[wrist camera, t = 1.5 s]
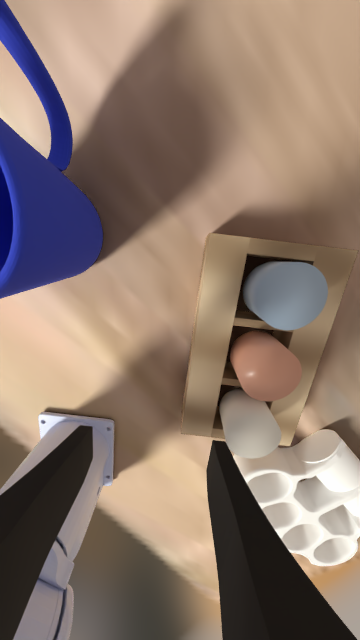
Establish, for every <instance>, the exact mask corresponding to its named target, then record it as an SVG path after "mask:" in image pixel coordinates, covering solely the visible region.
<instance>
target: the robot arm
mask: <svg viewBox="0 0 360 640" xmlns="http://www.w3.org/2000/svg"><path fill="white" fill-rule="evenodd" d="M38 419H39V428H40V437H41V440H40V441H39V442H38V444H37V445H36V446H35V447H34V449H33V450H32V451H31V452H30V453H29V455H28V456H27V457H26V458H25V460H24V461H23V462H22V464H21V465H20V466H19V467H18V468H17V470H16V471H15V472H14V473H13V475H12V476H11V477H10V478H9V480H8V481H7V482H6V483H5V485H4V486H3V487H2V488H1V489H0V640H69V636H70V632H71V627H72V619H73V602H74V600H73V599H74V598H73V590H72V587H71V586H70V585H69V584H67V583H68V581H69V578H70V575H71V572H72V570H73V567H74V563H73V562H72V561H73V560H74V558H75V556H76V555H77V553H78V551H79V549H80V546H81V544H82V541H83V538H84V535H85V533H86V530H87V528H88V525H89V522H90V519H91V517H92V514H93V511H94V509H95V506H96V503H97V500H98V498H99V495H100V492H101V490H102V487H103V485H104V486H110V485H112V483H113V465H114V421H113V420H111V419H103V418H94V417H86V416H77V415H68V414H59V413H51V412H41V413H40V415H39V416H38ZM108 427H109V428H108ZM207 492H208V503H209V510H210V518H211V525H212V533H213V540H214V547H215V555H216V562H217V571H218V580H219V593H220V606H221V621H222V636H223V640H357V639H356V637H355V636H354V635H353V634H352V632H351V631H350V630H349V629H348V628H347V626H346V625H345V624H344V623H343V622H342V620H341V619H340V618H339V616H338V615H337V614H336V613H335V612H334V610H333V609H332V608H331V606H330V605H329V604H328V602H327V601H326V600H325V599H324V597H323V596H322V595H321V594H320V592H319V591H318V589H317V588H316V587H315V585H314V584H313V583H312V582H311V580H310V579H309V578H308V576H307V575H306V574H305V572H304V571H303V570H302V568H301V567H300V566H299V564H298V563H297V561H296V560H295V559H294V557H293V556H292V554H291V553H290V552H289V550H288V549H287V547H286V546H285V544H284V543H283V541H282V540H281V538H280V537H279V535H278V534H277V532H276V531H275V529H274V528H273V526H272V525H271V523H270V522H269V520H268V519H267V517H266V515H265V514H264V512H263V510H262V509H261V507H260V506H259V504H258V502H257V500H256V499H255V497H254V495H253V494H252V492H251V490H250V488H249V486H248V485H247V483H246V481H245V479H244V477H243V476H242V474H241V472H240V470H239V468H238V466H237V464H236V462H235V460H234V458H233V456H232V454H231V452H230V450H229V448H228V445H227V443H226V442H224V441H215V440H213V441H212V446H211V451H210V456H209V461H208V466H207Z"/></svg>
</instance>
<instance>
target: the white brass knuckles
mask: <svg viewBox="0 0 360 640" xmlns="http://www.w3.org/2000/svg"><path fill="white" fill-rule="evenodd" d="M233 458H234V460H235V462H236V464H237V466H238V468H239V470H240V472H241V474H242V476H243V477H244V479H245V481H246V483H247V485H248V486H249V488H250V490H251V492H252V494H253V495H254V497H255V499H256V500H257V502H258V504H259V506H260V507H261V509H262V510H263V512H264V514H265V515H266V517H267V519H268V520H269V522H270V523H271V525H272V526H273V528H274V529H275V531H276V532H277V534H278V535H279V537H280V538H281V540H282V541H283V543H284V544H285V546H286V547H287V549H288V550H289V552H290V553H297V554H301V555H303V556H305V557H307V558H308V559H309V560H310V562H311V564H314V565H318V566H333V565H337V564H341V563H343V562H345V561H347V560H349V559H350V558H352V557H353V556H354V555H355V553H356V552H357V549H358V542H357V539H358V538H359V536H360V460H359V459H358V458H357V457H356V455H355V454H354V453H353V452H352V451H351V450H350V448H349V447H348V446H347V445H346V444H345V442H344V441H343V440H342V439H341V438H340V437H339V435H338V434H337V433H336V432H335V431H333V430H329V429H324V430H318V431H316V432H315V433H313V434H311V435H309V436H308V437H306V438H304V439H303V440H301V441H300V443H298V444H296V445H294V446H293V447H289V448H279V447H277V448H276V449H275V450H274V451H273V452H271V453H270V454H268V455H266V456H263V457H260V458H243V457H240V456H238V455H236V454H235V455H234V456H233ZM305 478H308V479H306V480H304V481H302V482H298V481H300V480H301V479H305Z"/></svg>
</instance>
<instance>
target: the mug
mask: <svg viewBox="0 0 360 640" xmlns="http://www.w3.org/2000/svg"><path fill="white" fill-rule="evenodd" d="M0 40H1V42H2V43H3V44H4V46H5V47H6V48H7V50H8V51H9V53H10V54H11V55H12V57H13V58H14V59H15V61H16V62H17V64H18V65H19V67H20V68H21V70H22V71H23V72H24V74H25V75H26V77H27V78H28V80H29V82H30V83H31V85H32V86H33V88H34V90H35V91H36V93H37V95H38V97H39V98H40V100H41V102H42V105H43V107H44V109H45V111H46V114H47V117H48V120H49V124H50V130H51V150H50V154H49V157H48V159H46V158H45V157H44V156H42V155H41V154H40V153H39V152H38V151H37V150H35V149H34V148H33V147H32V146H31V145H30V144H28V143H27V142H26V141H25V140H24V139H23V138H21V137H20V136H19V135H18V134H17V133H16V132H15V131H14V130H13V129H12V128H11V127H10V126H9V125H7V124H6V123H5V122H4V121H3V120H2V119H1V118H0V299H1V298H4V297H7V296H10V295H14V294H17V293H20V292H24V291H27V290H30V289H34V288H37V287H40V286H43V285H47V284H50V283H53V282H57V281H60V280H63V279H66V278H70V277H73V276H76V275H78V274H81V273H82V272H84V271H86V270H87V269H88V268H89V267H91V266H92V265H93V263H94V262H95V261H96V259H97V258H98V256H99V254H100V251H101V248H102V243H103V230H102V225H101V221H100V218H99V216H98V213H97V211H96V209H95V207H94V206H93V204H92V203H91V201H90V200H89V199H88V198H87V196H86V195H85V194H84V193H83V192H82V191H81V190H80V189H79V188H78V187H77V186H75V185H74V184H73V183H72V182H71V181H70V180H69V179H68V178H67V177H66V176H65V175H64V174H62V173H61V171H63V170H65V169H66V168H67V167H68V165H69V163H70V159H71V155H72V146H73V138H72V130H71V124H70V120H69V117H68V113H67V110H66V108H65V105H64V103H63V101H62V98H61V96H60V94H59V92H58V90H57V88H56V86H55V84H54V82H53V80H52V78H51V76H50V75H49V73H48V71H47V69H46V68H45V66H44V64H43V62H42V60H41V59H40V57H39V55H38V54H37V52H36V50H35V49H34V47H33V45H32V44H31V42H30V40H29V39H28V37H27V36H26V34H25V32H24V31H23V29H22V27H21V26H20V24H19V22H18V21H17V19H16V18H15V16H14V15H13V13H12V11H11V10H10V8H9V7H8V5H7V3H6V2H5V0H0Z"/></svg>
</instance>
